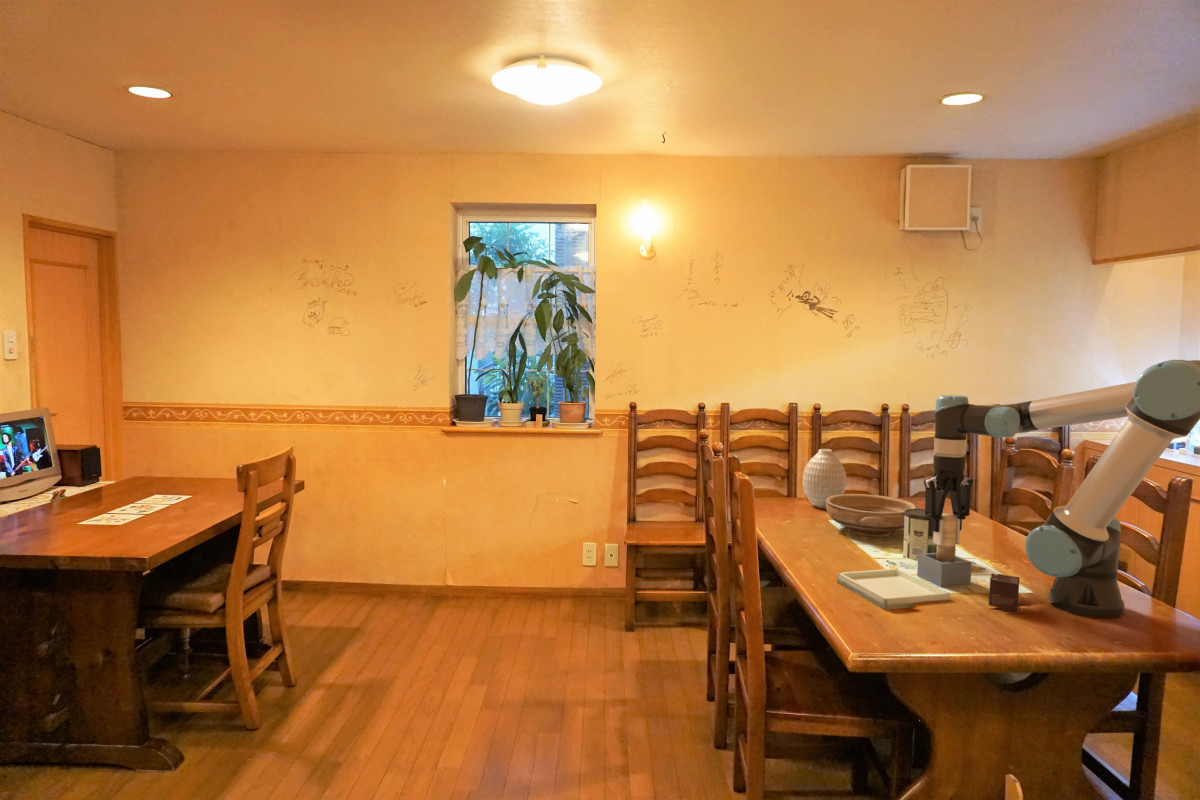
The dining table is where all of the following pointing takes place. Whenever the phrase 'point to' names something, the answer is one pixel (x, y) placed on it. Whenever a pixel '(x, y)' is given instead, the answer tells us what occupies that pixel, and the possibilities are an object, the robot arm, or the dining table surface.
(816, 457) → the vase
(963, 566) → the grey square bin
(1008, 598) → the box
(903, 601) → the tray
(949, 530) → the dowel
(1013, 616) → the dining table surface
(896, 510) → the ceramic bowl
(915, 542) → the coffee can
